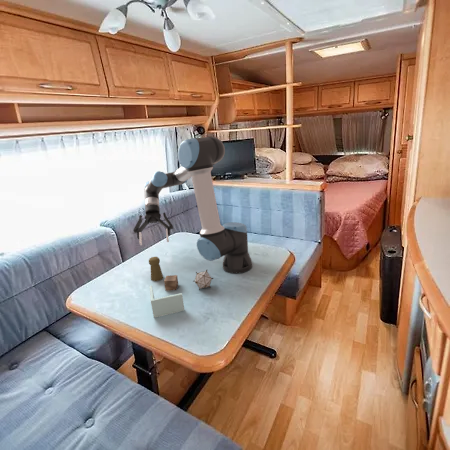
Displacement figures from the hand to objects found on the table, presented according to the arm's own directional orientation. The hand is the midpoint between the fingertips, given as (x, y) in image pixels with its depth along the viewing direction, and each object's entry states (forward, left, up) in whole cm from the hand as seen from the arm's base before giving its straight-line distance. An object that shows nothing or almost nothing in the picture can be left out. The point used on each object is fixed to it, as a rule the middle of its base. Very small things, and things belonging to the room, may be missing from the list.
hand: (154, 242), depth 146 cm
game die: (-30, +17, -15) cm, 37 cm away
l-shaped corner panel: (-18, +32, -15) cm, 40 cm away
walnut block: (-15, +18, -15) cm, 27 cm away
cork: (-4, +10, -15) cm, 18 cm away
